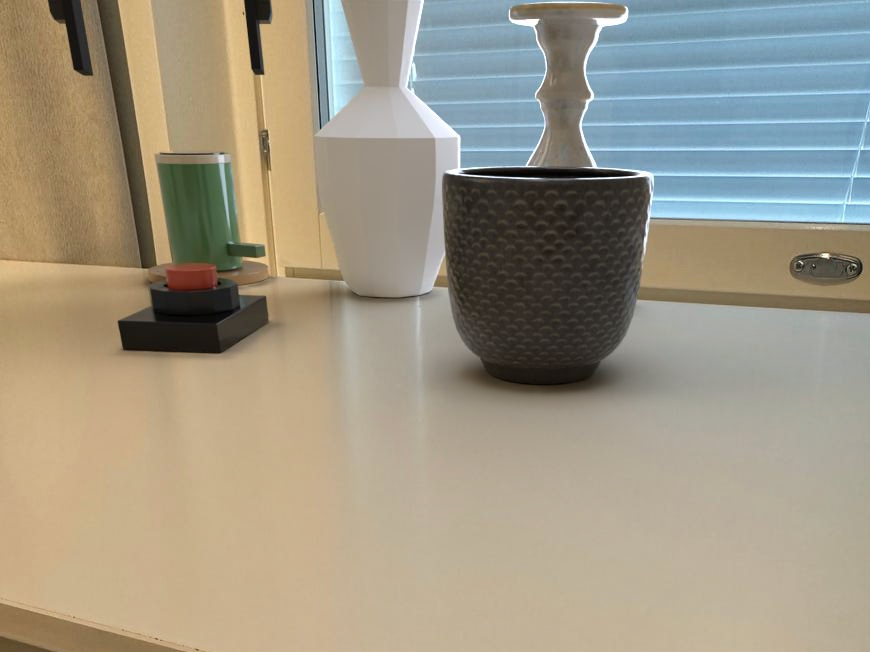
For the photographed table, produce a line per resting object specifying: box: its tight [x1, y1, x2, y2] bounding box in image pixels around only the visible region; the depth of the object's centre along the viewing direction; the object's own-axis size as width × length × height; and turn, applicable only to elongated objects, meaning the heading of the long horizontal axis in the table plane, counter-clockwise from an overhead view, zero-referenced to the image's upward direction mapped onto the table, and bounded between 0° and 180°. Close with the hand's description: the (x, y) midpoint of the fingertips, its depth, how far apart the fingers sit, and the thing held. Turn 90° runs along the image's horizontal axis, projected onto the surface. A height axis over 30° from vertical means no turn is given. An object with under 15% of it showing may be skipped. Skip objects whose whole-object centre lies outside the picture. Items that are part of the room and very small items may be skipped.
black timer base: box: [117, 278, 270, 354], centre depth 73 cm, size 8×12×4 cm, turn 173°
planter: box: [442, 165, 655, 385], centre depth 61 cm, size 14×14×13 cm
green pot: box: [154, 150, 267, 271], centre depth 95 cm, size 12×8×11 cm
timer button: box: [165, 263, 218, 289], centre depth 72 cm, size 4×4×2 cm
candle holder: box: [508, 1, 629, 168], centre depth 82 cm, size 11×11×24 cm
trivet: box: [147, 259, 270, 286], centre depth 99 cm, size 13×13×1 cm
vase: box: [313, 0, 461, 298], centre depth 86 cm, size 14×14×25 cm
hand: (171, 73), depth 71 cm, fingers open, 13 cm apart
